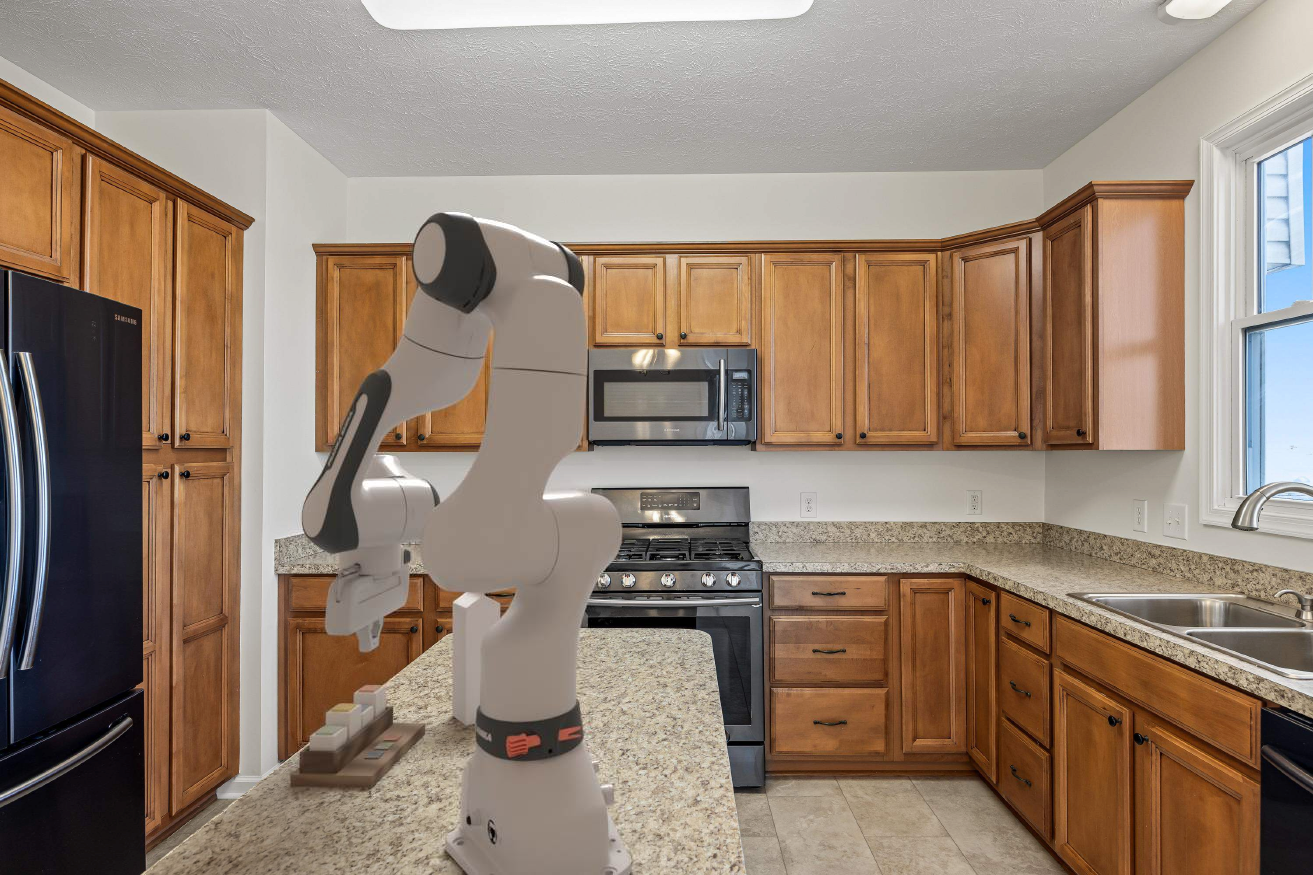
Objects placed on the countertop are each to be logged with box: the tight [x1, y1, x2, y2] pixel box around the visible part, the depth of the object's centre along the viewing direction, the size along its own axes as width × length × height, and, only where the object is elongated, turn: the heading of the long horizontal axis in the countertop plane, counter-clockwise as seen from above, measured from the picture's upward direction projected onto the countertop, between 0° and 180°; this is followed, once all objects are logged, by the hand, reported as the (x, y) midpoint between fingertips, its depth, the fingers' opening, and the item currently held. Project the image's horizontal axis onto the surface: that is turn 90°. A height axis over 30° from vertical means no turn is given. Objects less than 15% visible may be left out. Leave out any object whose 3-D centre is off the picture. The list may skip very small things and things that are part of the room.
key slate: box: [361, 705, 374, 730], centre depth 102 cm, size 3×3×4 cm
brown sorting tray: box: [289, 705, 426, 789], centre depth 100 cm, size 18×11×4 cm, turn 177°
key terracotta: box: [353, 684, 387, 719], centre depth 106 cm, size 3×3×4 cm
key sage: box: [308, 725, 347, 751], centre depth 94 cm, size 3×3×4 cm
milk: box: [451, 592, 501, 727], centre depth 116 cm, size 6×6×22 cm
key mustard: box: [325, 702, 361, 741], centre depth 98 cm, size 3×3×4 cm
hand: (369, 649), depth 107 cm, fingers closed
